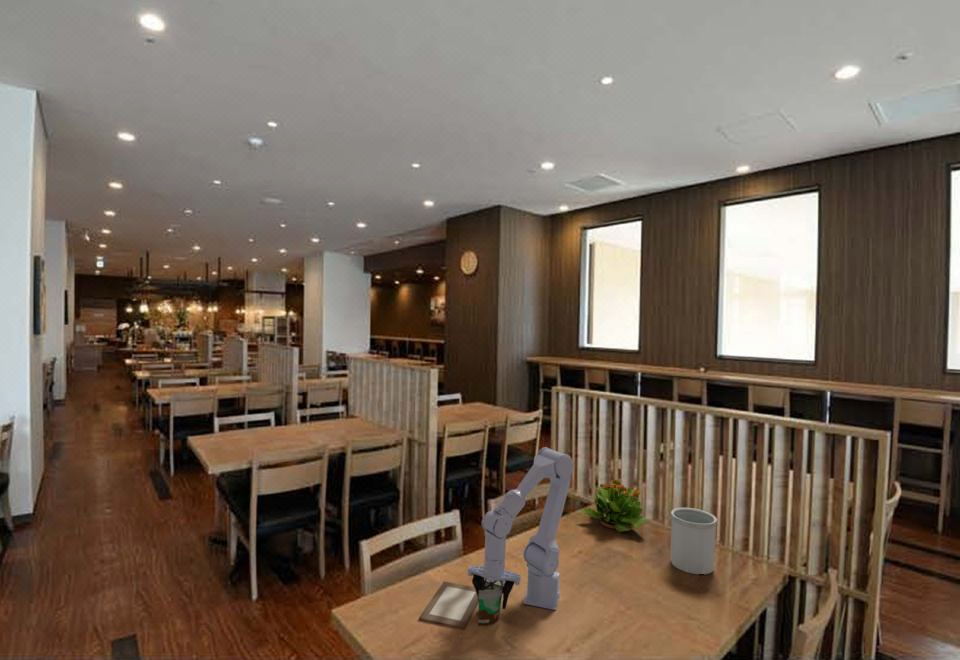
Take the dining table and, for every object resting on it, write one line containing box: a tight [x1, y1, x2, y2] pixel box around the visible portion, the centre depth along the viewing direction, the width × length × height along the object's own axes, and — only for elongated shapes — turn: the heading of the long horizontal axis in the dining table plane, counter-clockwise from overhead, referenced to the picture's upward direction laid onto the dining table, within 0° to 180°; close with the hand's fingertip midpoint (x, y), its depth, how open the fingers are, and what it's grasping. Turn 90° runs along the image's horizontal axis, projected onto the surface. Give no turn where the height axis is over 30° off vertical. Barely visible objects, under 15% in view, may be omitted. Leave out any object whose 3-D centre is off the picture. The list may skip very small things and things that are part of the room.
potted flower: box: [580, 478, 647, 533], centre depth 207 cm, size 25×24×18 cm
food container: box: [477, 578, 505, 627], centre depth 138 cm, size 12×6×10 cm, turn 169°
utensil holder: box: [670, 507, 718, 575], centre depth 174 cm, size 15×15×18 cm
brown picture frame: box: [418, 581, 479, 631], centre depth 143 cm, size 13×20×1 cm, turn 164°
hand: (492, 604), depth 138 cm, fingers open, 6 cm apart
